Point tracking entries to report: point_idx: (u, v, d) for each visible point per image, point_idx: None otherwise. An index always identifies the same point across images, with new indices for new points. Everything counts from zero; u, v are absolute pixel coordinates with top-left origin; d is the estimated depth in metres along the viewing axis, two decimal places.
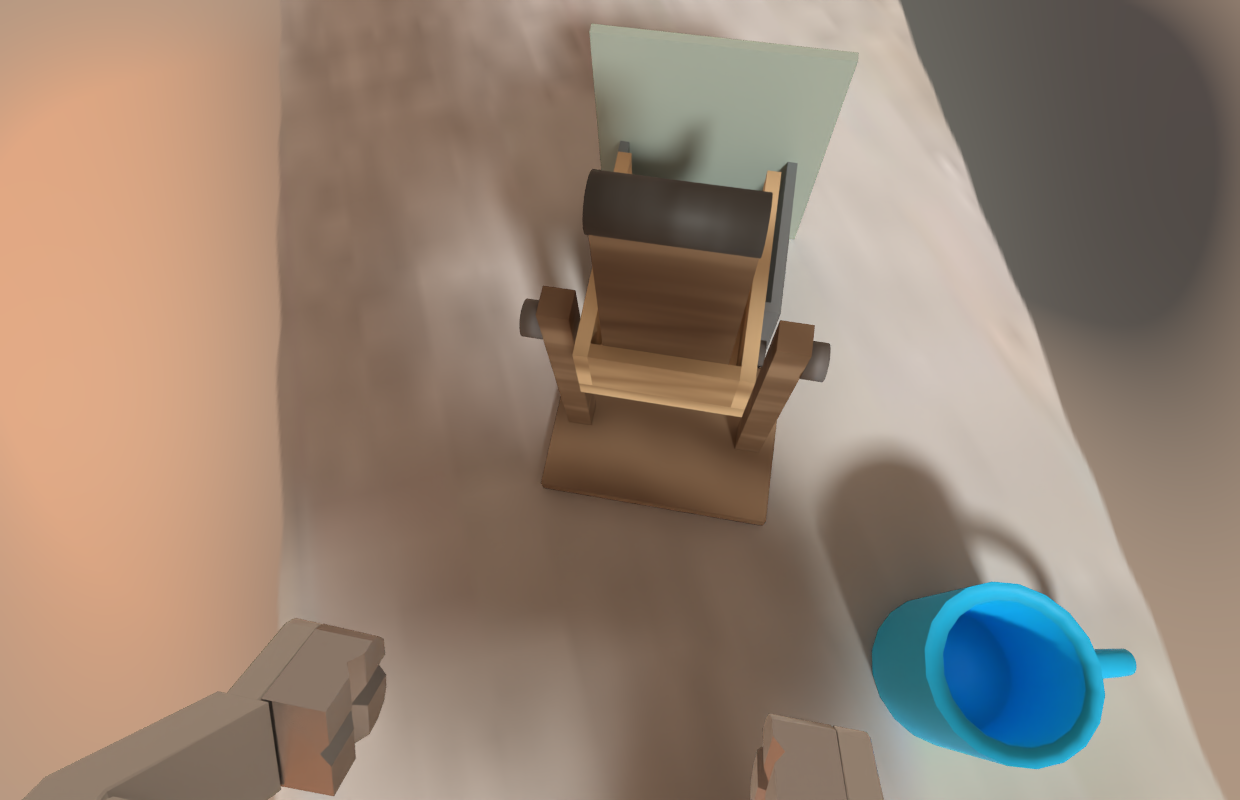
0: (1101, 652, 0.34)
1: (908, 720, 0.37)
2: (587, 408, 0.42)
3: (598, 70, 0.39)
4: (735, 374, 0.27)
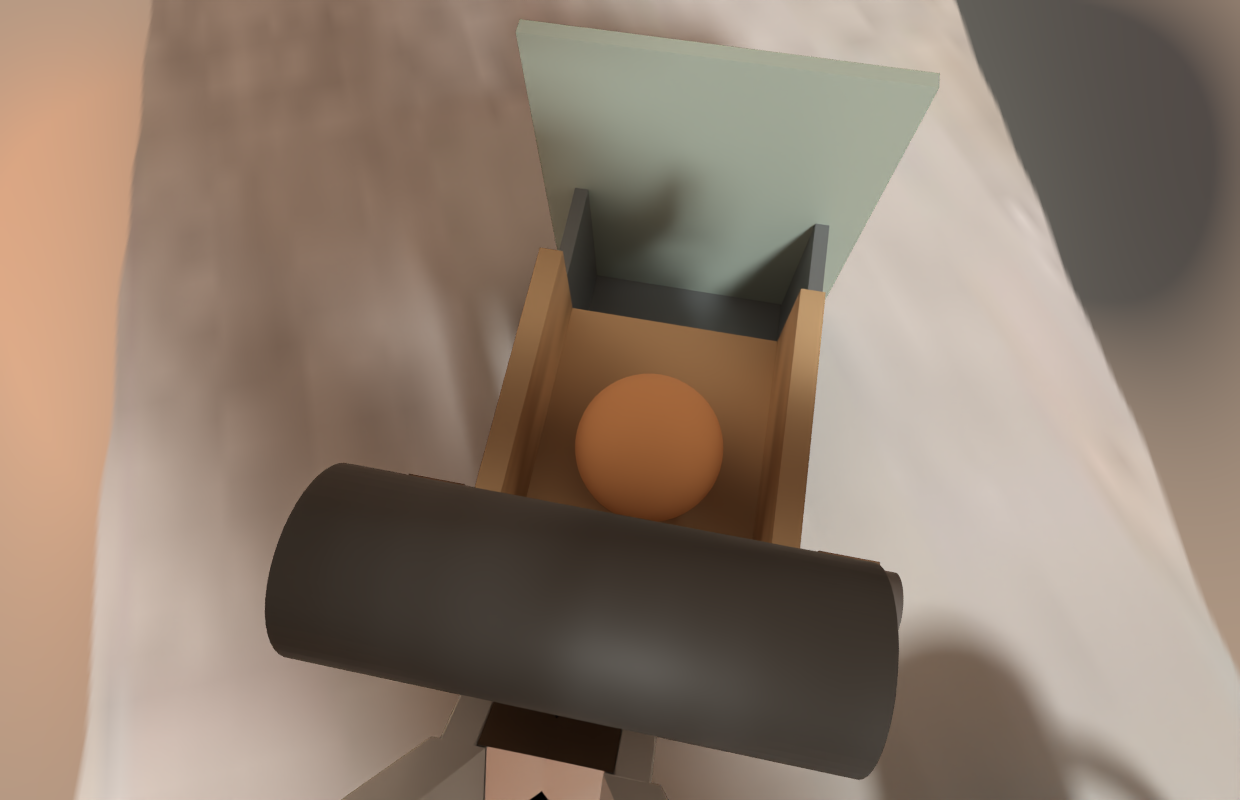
0: None
1: None
2: None
3: (535, 90, 0.26)
4: None
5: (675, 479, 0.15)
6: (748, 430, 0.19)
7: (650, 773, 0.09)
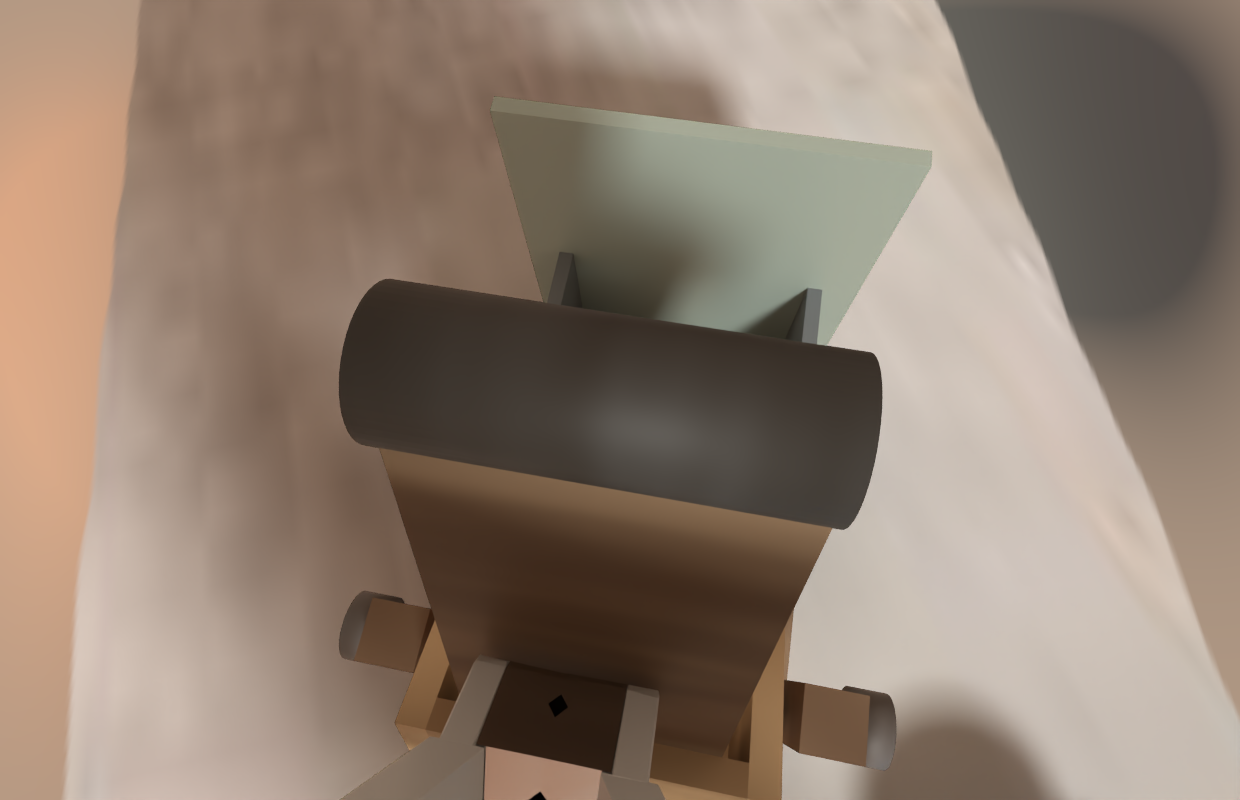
0: None
1: None
2: None
3: (513, 163, 0.25)
4: (737, 782, 0.13)
5: None
6: None
7: (648, 773, 0.09)
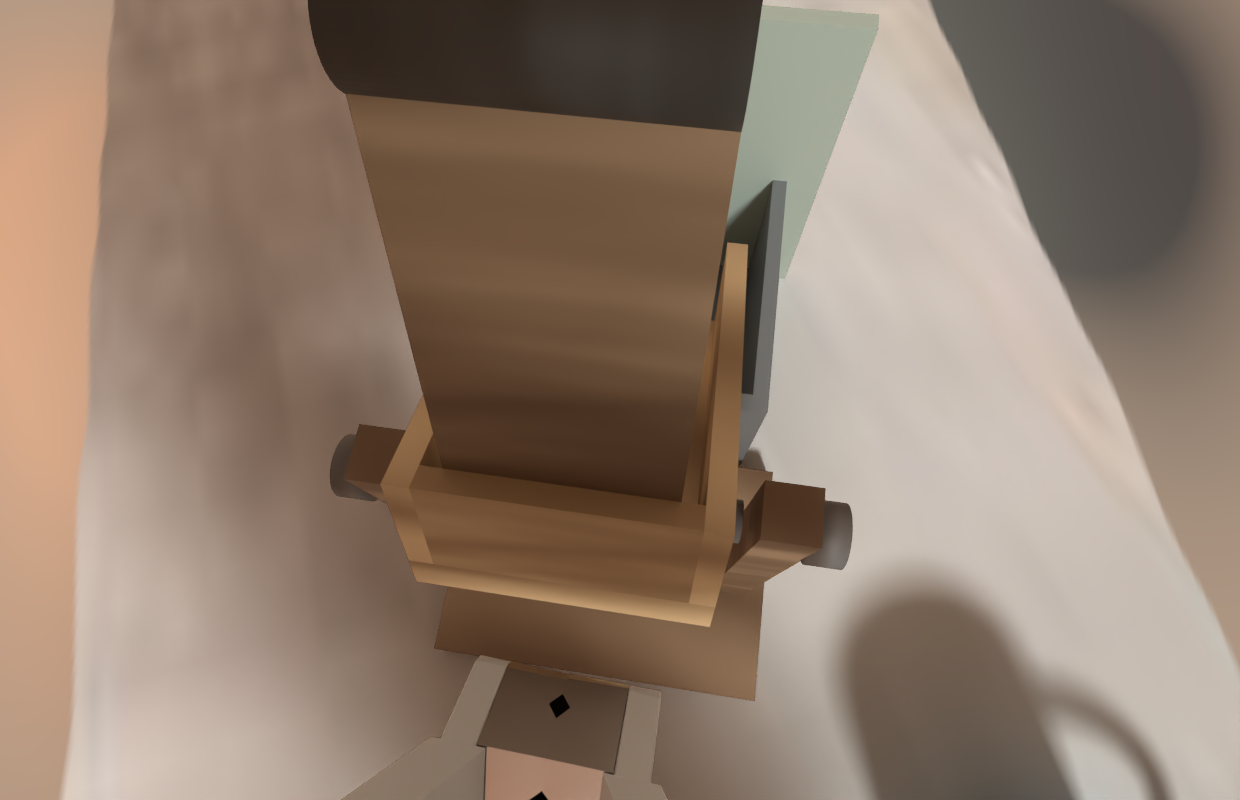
0: None
1: None
2: None
3: None
4: (695, 519, 0.14)
5: None
6: None
7: (650, 773, 0.09)
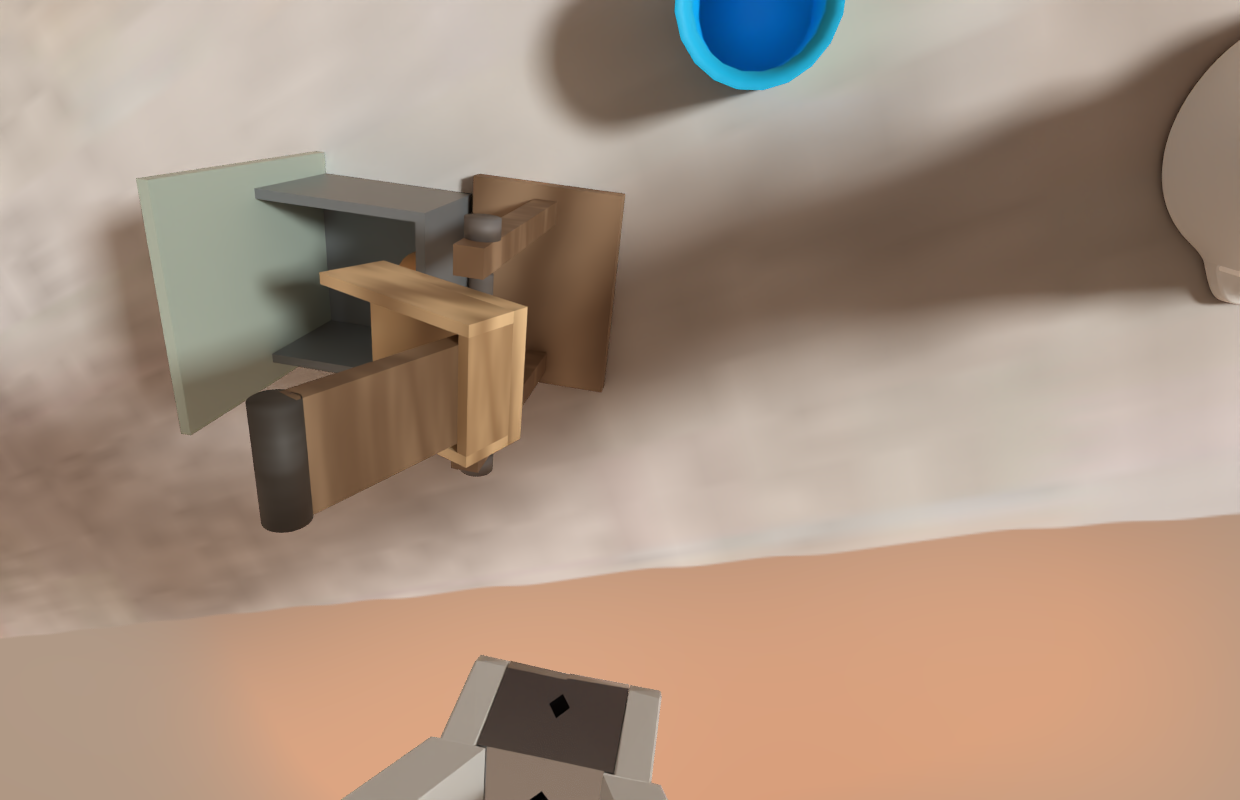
0: None
1: None
2: (535, 369, 0.48)
3: (219, 411, 0.42)
4: (464, 340, 0.31)
5: None
6: None
7: (650, 773, 0.09)
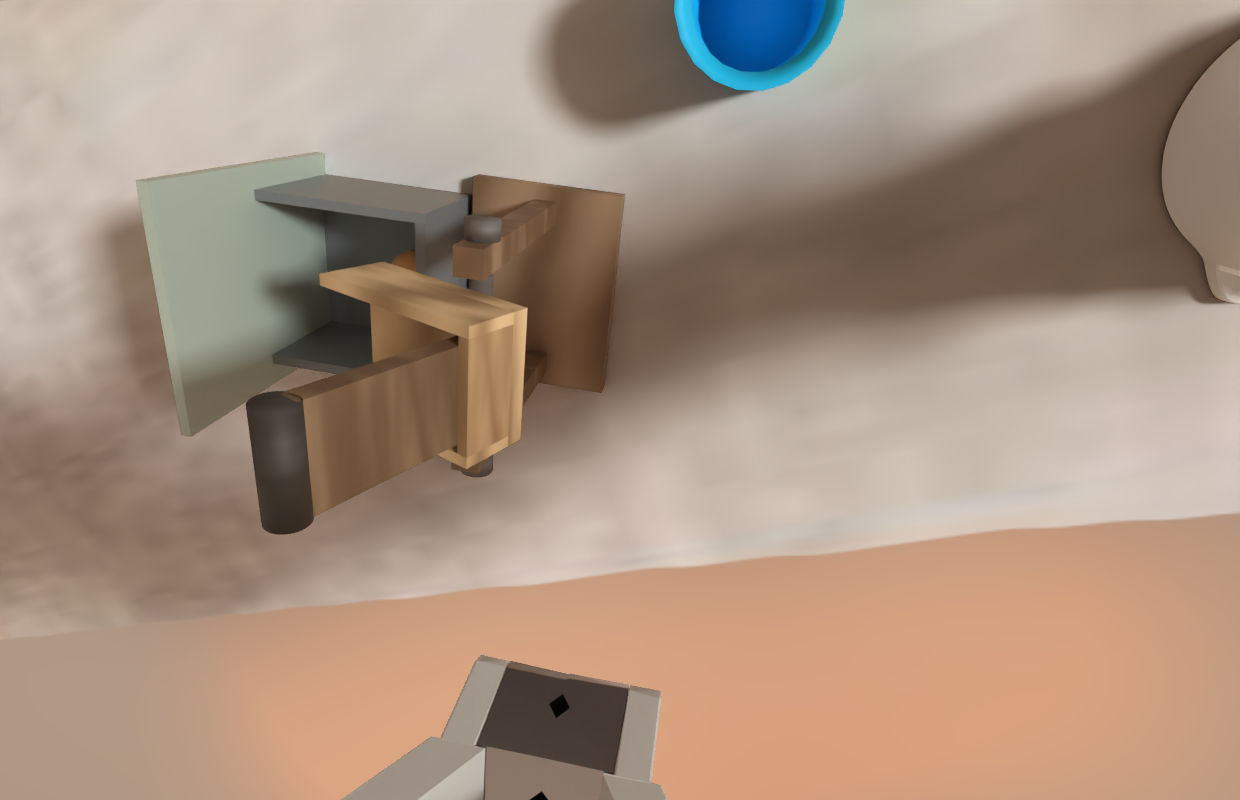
0: None
1: None
2: (535, 369, 0.48)
3: (220, 412, 0.42)
4: (464, 342, 0.31)
5: None
6: None
7: (650, 773, 0.09)
